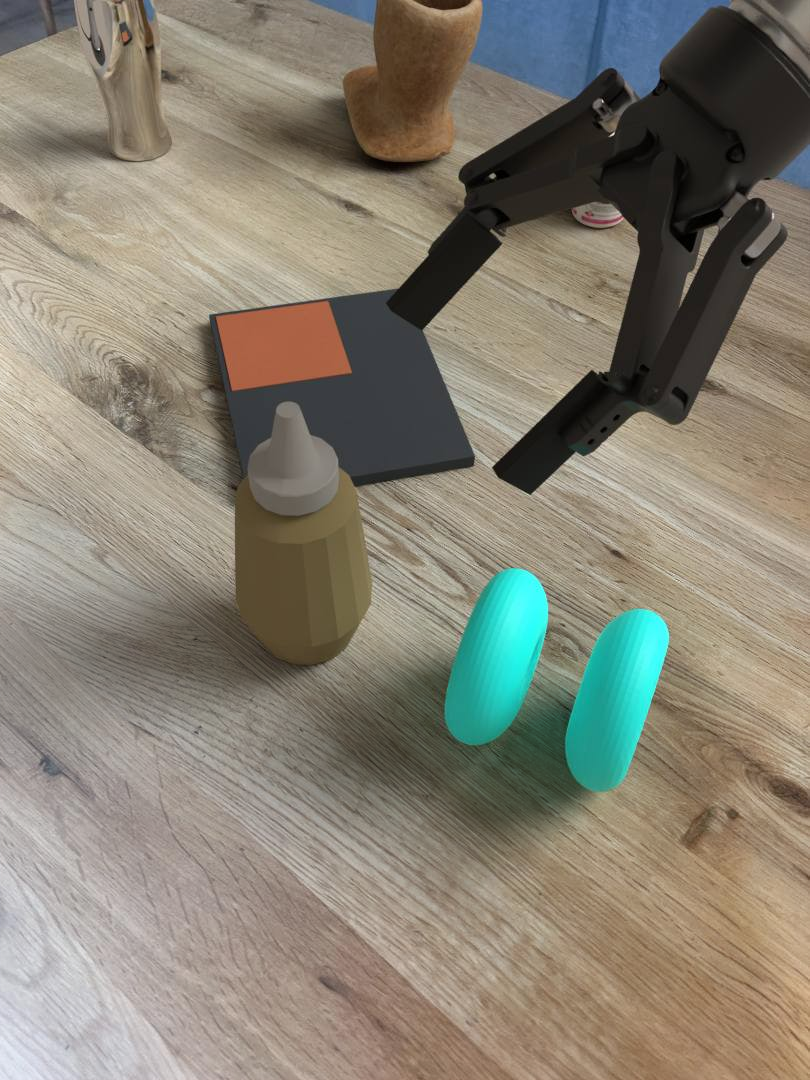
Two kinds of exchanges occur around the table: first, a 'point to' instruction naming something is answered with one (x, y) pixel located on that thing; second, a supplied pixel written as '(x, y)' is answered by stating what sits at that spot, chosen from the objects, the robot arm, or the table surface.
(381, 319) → the mat
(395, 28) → the stone cup
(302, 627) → the squeeze bottle
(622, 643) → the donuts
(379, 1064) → the table surface
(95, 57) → the chrome sculpted vase
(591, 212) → the pill bottle
